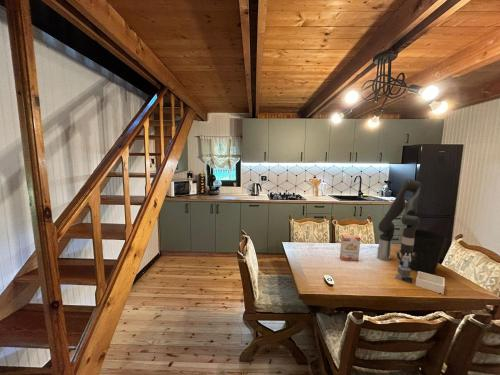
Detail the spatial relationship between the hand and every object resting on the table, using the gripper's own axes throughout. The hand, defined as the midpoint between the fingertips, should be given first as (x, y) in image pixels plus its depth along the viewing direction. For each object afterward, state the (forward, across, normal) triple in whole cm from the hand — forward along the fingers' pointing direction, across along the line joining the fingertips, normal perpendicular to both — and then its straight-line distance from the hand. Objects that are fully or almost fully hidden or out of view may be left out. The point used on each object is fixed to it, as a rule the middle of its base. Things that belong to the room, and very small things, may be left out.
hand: (404, 265), depth 173 cm
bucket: (+11, -24, -19) cm, 32 cm away
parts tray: (+10, -13, +8) cm, 19 cm away
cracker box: (+11, +29, -30) cm, 43 cm away
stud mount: (+10, 0, 0) cm, 10 cm away
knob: (+7, 0, 0) cm, 7 cm away
